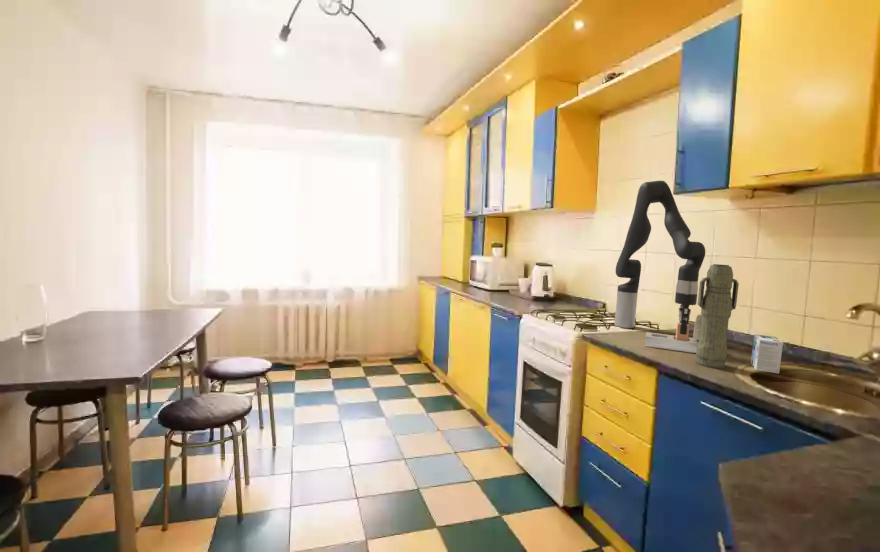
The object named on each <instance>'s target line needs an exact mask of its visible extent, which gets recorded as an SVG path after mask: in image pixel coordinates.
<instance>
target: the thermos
mask: <svg viewBox="0 0 880 552" xmlns="http://www.w3.org/2000/svg"><path fill="white" fill-rule="evenodd" d="M731 290H732V293H731ZM738 291H739V282H738V279H735V278H734V272H733V268H732V266H730V265H729V264H718V263H717V264H715V263H714V264H711V265H709V268H708V270H707V273H706V277H703V278H701V280H700V281H699V284H698V294H697V305H698V306H699V307H700V315H702V322H701V332H700V340H699V342H698V344H697V352H696V353H695V356H696V360H695V363H696V364H697V365H699V366H702V367H706V368H712V369H724V368H726V367H725V366H726V365H725V364H726V361H727V355H728V346H727V337H728V331H729V330H728V329H729V321H730V320H729V319H730V318H731V316H732V311H733V310H736V307H737V302H738V294H739V292H738Z"/></svg>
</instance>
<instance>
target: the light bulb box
mask: <svg viewBox="0 0 880 552" xmlns="http://www.w3.org/2000/svg"><path fill="white" fill-rule="evenodd" d="M783 347H784V341H782V340H780V339H779V338H778V337H777V336H772V335H762V334H753V339H752V350H751V359H750V364H751V366H752V367H753V366H754V367H753V368H754V370H756V371H759V372H766V373H771V374H772V373H773V374H780V368H781V361H782V353H783Z"/></svg>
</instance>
